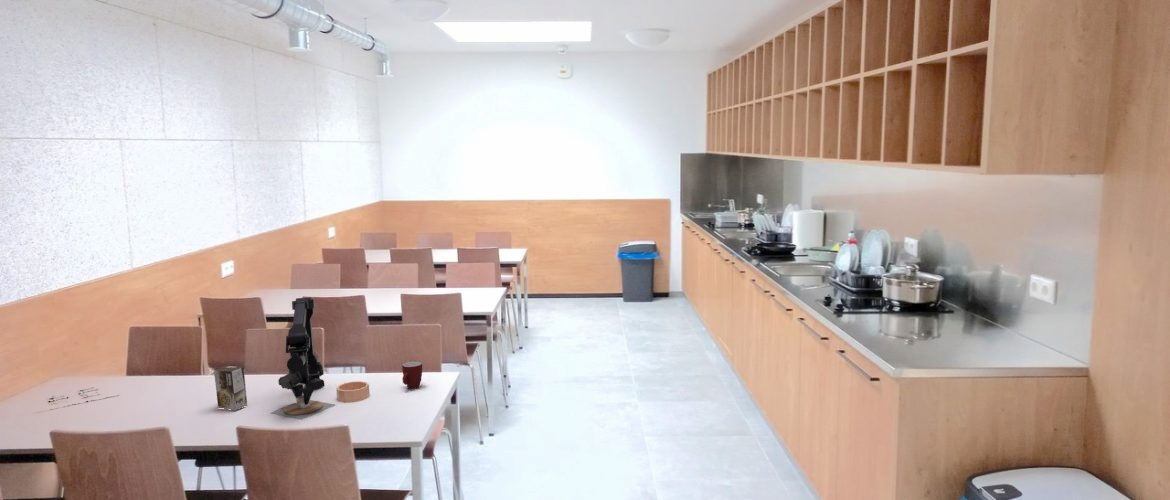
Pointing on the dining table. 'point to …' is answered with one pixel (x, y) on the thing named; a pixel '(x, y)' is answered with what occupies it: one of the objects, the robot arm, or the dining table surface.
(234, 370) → the coffee box
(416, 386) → the mug
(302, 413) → the lid
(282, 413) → the mat
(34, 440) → the dining table surface
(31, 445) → the dining table surface
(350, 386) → the bowl
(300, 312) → the robot arm
